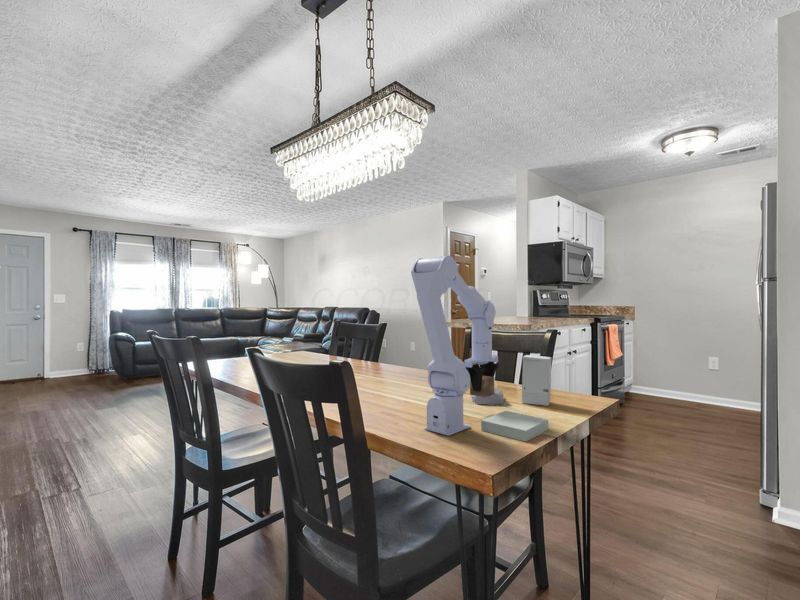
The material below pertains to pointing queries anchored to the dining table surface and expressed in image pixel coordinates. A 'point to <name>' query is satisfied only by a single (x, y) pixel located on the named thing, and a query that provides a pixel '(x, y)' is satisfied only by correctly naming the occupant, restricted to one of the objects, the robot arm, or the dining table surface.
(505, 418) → the sage board block
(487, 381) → the walnut cube
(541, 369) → the skincare box
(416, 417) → the dining table surface
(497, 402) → the stone block
